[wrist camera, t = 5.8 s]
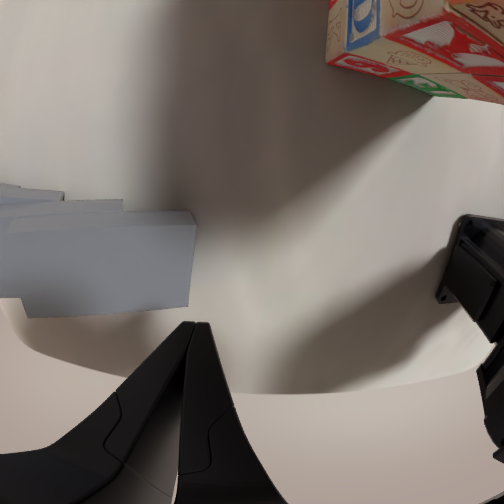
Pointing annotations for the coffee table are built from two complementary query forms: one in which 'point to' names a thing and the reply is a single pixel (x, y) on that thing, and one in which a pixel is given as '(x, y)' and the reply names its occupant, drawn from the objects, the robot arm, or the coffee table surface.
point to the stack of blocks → (423, 44)
